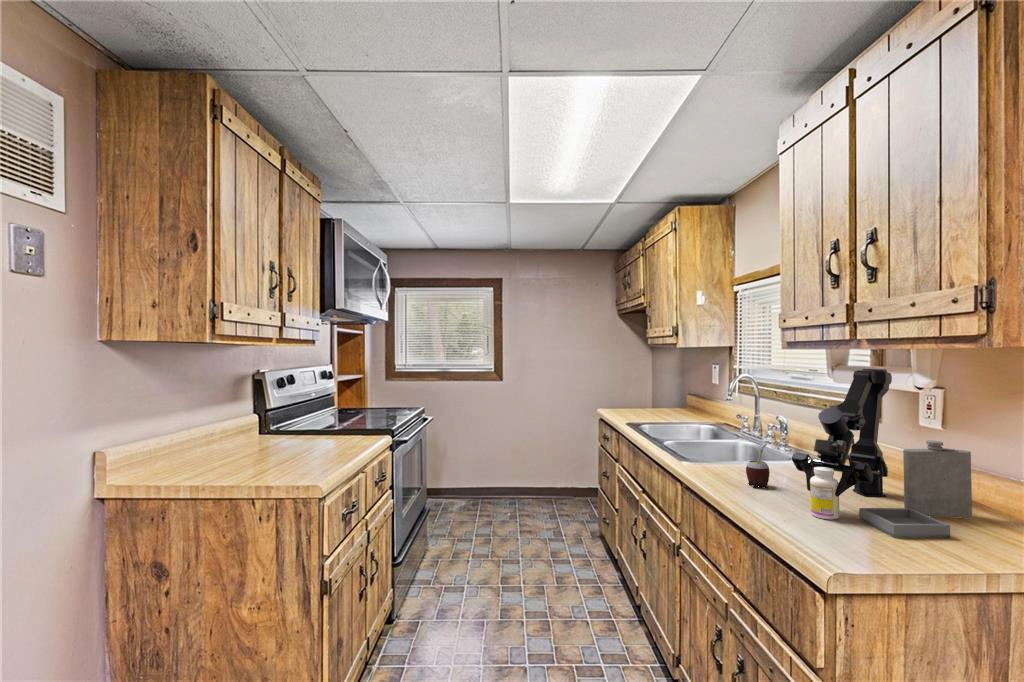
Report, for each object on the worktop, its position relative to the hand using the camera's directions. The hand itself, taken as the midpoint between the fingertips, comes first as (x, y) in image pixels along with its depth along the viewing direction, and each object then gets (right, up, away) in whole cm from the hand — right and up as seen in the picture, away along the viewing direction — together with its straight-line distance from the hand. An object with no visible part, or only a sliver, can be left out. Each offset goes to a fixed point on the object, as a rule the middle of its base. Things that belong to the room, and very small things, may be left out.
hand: (822, 492), depth 137 cm
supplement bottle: (+1, -7, +1) cm, 7 cm away
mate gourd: (-2, -7, +30) cm, 31 cm away
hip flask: (+31, -6, 0) cm, 32 cm away
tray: (+15, -6, -9) cm, 18 cm away
